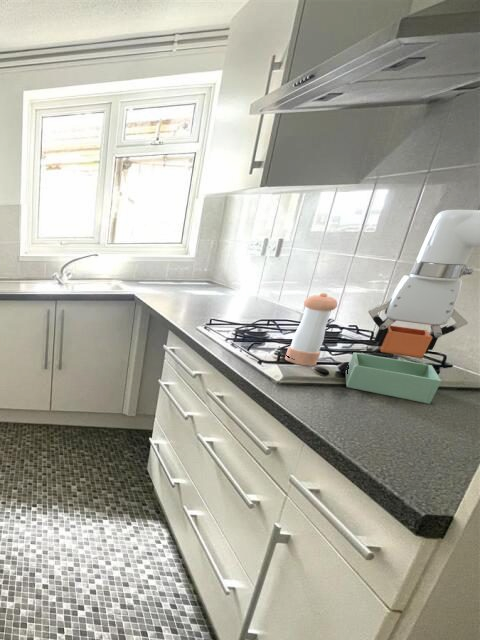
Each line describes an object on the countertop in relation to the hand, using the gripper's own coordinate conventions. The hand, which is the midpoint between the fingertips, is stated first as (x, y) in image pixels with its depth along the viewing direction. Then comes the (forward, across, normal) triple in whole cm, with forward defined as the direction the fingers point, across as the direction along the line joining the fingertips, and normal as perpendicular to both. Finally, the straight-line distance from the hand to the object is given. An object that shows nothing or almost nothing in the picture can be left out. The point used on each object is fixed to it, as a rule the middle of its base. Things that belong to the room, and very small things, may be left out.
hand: (400, 348), depth 97 cm
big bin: (+10, 0, 0) cm, 10 cm away
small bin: (+1, 0, 0) cm, 1 cm away
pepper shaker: (+10, +17, -9) cm, 22 cm away
